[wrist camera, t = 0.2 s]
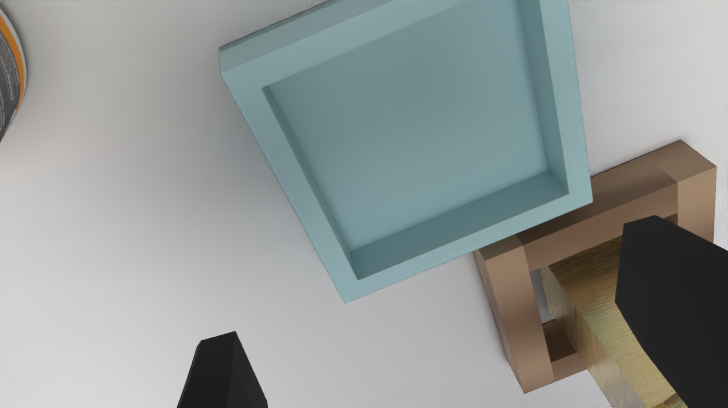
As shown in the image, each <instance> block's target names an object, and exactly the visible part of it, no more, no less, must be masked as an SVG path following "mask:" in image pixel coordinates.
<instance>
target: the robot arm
mask: <svg viewBox="0 0 728 408" xmlns="http://www.w3.org/2000/svg"><path fill="white" fill-rule="evenodd" d="M615 304H616V305H617V307H618V309H619V310H620V312H621V314H622V316H623V317H624V319H625V321H626V323H627V324H628V326H629V328H630V329H631V331H632V333H633V334H634V336H635V338H636V339H637V341H638V342H639V344H640V346H641V347H642V349H643V350H644V352H645V353H646V354H647V356H648V357H649V358H650V360H651V361H652V362H653V363H654V365H655V366H656V367H657V369H658V370H659V371H660V372H661V374H662V375H663V376H664V378H665V379H666V380H667V381H668V383H669V384H670V385H671V387H672V388H673V389H674V390H675V392H676V393H677V394H678V396H679V397H680V398H681V399H682V401H683V402H684V403H685V404H686V406H687V407H688V408H728V251H727V250H725V249H723V248H721V247H719V246H717V245H715V244H713V243H711V242H709V241H707V240H705V239H703V238H701V237H700V236H698V235H696V234H694V233H692V232H690V231H688V230H686V229H684V228H682V227H680V226H678V225H676V224H674V223H671V222H669V221H667V220H665V219H663V218H661V217H659V216H657V215H653V216H649V217H646V218H642V219H638V220H635V221H631V222H628V223H624V226H623V235H622V243H621V252H620V260H619V269H618V277H617V285H616V294H615ZM177 408H268V404H267V400H266V398H265V396H264V393H263V391H262V389H261V387H260V384H259V382H258V380H257V378H256V376H255V373H254V371H253V369H252V367H251V364H250V362H249V360H248V358H247V356H246V353H245V351H244V349H243V347H242V344H241V342H240V340H239V338H238V335H237V333H236V331H234V332H230V333H226V334H223V335H219V336H216V337H212V338H208V339H205V340H201V341H200V343H199V344H198V346H197V348H196V351H195V355H194V358H193V361H192V364H191V367H190V370H189V374H188V377H187V380H186V383H185V386H184V388H183V391H182V394H181V397H180V400H179V403H178V405H177Z"/></svg>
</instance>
